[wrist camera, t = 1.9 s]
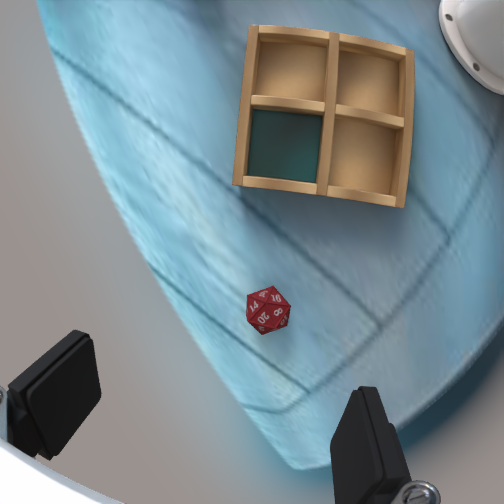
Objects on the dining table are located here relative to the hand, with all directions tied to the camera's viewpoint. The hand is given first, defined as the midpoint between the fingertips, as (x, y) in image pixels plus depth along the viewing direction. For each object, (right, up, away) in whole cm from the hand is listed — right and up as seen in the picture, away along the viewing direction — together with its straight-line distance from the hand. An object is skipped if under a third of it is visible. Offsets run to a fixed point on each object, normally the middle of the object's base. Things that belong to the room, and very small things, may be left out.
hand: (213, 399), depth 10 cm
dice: (+3, 0, +19) cm, 19 cm away
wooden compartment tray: (+8, +16, +14) cm, 23 cm away
